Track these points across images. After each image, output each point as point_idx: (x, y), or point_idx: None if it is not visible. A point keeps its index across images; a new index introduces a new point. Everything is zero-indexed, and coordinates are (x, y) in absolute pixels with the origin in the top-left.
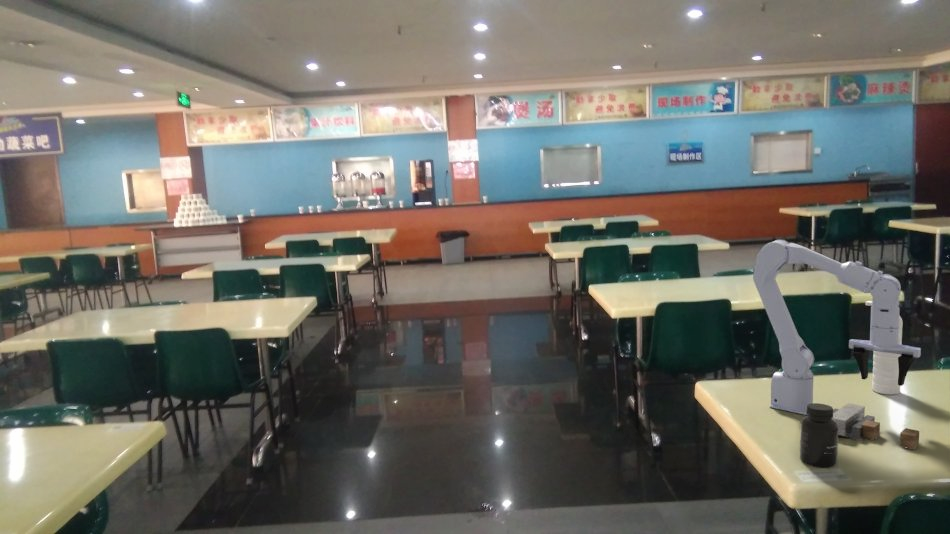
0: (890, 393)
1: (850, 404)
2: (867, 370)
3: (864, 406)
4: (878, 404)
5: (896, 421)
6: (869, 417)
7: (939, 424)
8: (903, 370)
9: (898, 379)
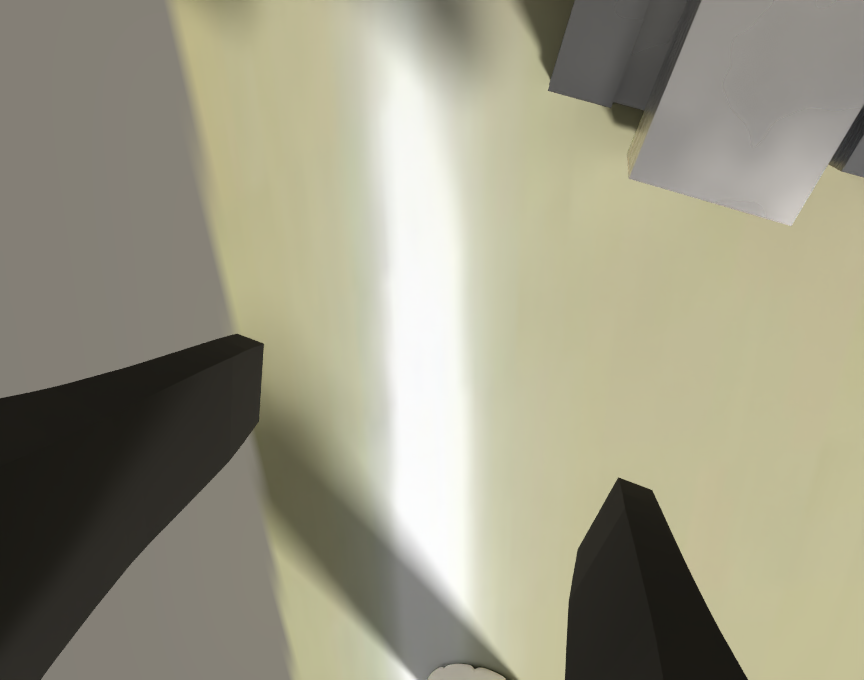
0: (460, 669)
1: (773, 187)
2: (573, 639)
3: (631, 177)
4: (515, 546)
5: (425, 300)
6: (595, 38)
7: (243, 328)
8: (12, 402)
9: (206, 361)
